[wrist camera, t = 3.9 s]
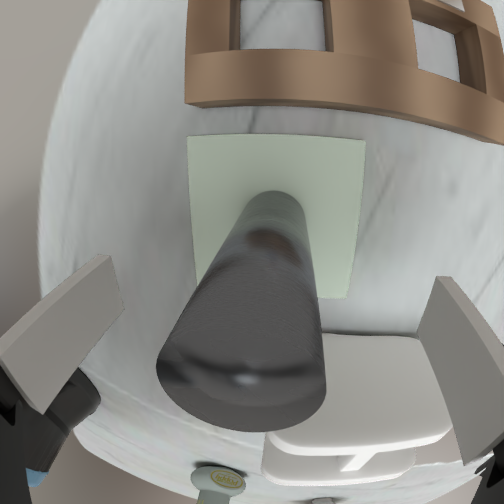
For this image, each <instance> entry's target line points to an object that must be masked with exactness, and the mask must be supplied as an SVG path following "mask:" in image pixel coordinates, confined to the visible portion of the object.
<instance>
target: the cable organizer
mask: <svg viewBox="0 0 504 504" xmlns="http://www.w3.org/2000/svg"><path fill="white" fill-rule="evenodd" d="M322 341H323V351H324V361H325V373H326V390H327V392H326V396H325V400H324V402H323V404H322V405H321V407H320V408H319V410H318V411H317V412H316V413H315V414H314V415H312V416H311V417H310V418H308V419H307V420H305V421H303V422H302V423H300V424H297V425H295V426H292V427H289V428H286V429H282V430H277V431H270V432H266V434H265V441H264V449H263V456H262V463H261V472H262V474H263V475H264V477H265V478H267V479H268V480H269V481H271V482H273V483H276V484H280V485H288V486H332V485H348V484H359V483H368V482H375V481H382V480H388V479H393V478H396V477H398V476H400V475H402V474H403V473H405V472H406V471H407V470H408V469H410V468H411V467H412V466H413V465H414V463H415V461H416V451H415V447H417V446H422V445H427V444H431V443H434V442H436V441H437V440H439V439H441V438H442V437H443V436H444V435H445V434H446V433H447V432H448V431H449V430H450V429H451V428H452V427H453V424H452V421H451V418H450V415H449V412H448V409H447V406H446V403H445V400H444V398H443V395H442V392H441V389H440V387H439V384H438V382H437V379H436V376H435V374H434V371H433V369H432V367H431V364H430V362H429V359H428V357H427V355H426V352H425V350H424V348H423V346H422V343H421V341H419V340H417V339H414V338H411V337H399V336H354V335H337V334H332V333H322Z"/></svg>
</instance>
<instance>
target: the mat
mask: <svg viewBox="0 0 504 504" xmlns="http://www.w3.org/2000/svg"><path fill="white" fill-rule="evenodd" d="M365 146H366V141H362V140H354V139H344V138H334V137H322V136H308V135H287V134H223V135H202V136H187V159H188V181H189V198H190V213H191V226H192V238H193V249H194V260H195V270H196V279H197V286H198V285H199V283H200V281H201V279H202V278H203V276H204V274H205V273H206V271H207V269H208V268H209V266H210V264H211V262H212V261H213V259H214V257H215V256H216V254H217V252H218V251H219V249H220V247H221V246H222V244H223V242H224V241H225V239H226V238H227V236H228V234H229V233H230V231H231V229H232V228H233V226H234V224H235V223H236V221H237V220H238V218H239V216H240V215H241V213H242V211H243V210H244V208H245V207H246V205H247V204H248V202H249V201H250V200H251V199H252V198H253V197H254V196H256V195H257V194H259V193H262V192H265V191H272V190H275V191H281V192H285V193H287V194H289V195H291V196H292V197H294V198H295V199H296V200H297V201H298V202H299V203H300V205H301V206H302V208H303V211H304V214H305V218H306V224H307V230H308V236H309V242H310V248H311V255H312V261H313V268H314V275H315V282H316V290H317V297H318V298H336V299H346V298H347V293H348V288H349V283H350V277H351V272H352V266H353V260H354V254H355V247H356V240H357V233H358V226H359V218H360V209H361V200H362V189H363V178H364V164H365Z"/></svg>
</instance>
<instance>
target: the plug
mask: <svg viewBox="0 0 504 504" xmlns="http://www.w3.org/2000/svg"><path fill="white" fill-rule="evenodd" d="M156 370H157V376H158V379H159V381H160V384H161V386H162V387H163V389H164V390H165V392H166V393H167V394H168V396H169V397H170V398H171V399H172V400H173V401H174V402H175V403H176V404H177V405H178V406H180V407H181V408H182V409H184V410H185V411H186V412H188V413H189V414H191V415H193V416H195V417H196V418H198V419H200V420H203V421H205V422H207V423H210V424H212V425H215V426H219V427H222V428H226V429H230V430H236V431H243V432H270V431H277V430H282V429H286V428H289V427H292V426H295V425H297V424H300V423H302V422H303V421H305V420H307V419H308V418H310V417H311V416H312V415H314V414H315V413H316V412H317V411H318V410H319V408H320V407H321V405H322V404H323V402H324V400H325V396H326V392H327V390H326V373H325V361H324V351H323V341H322V331H321V322H320V313H319V305H318V297H317V290H316V282H315V275H314V268H313V261H312V255H311V248H310V242H309V236H308V230H307V224H306V218H305V214H304V211H303V208H302V206H301V205H300V203H299V202H298V201H297V200H296V199H295V198H294V197H292V196H291V195H289V194H287V193H285V192H281V191H275V190H272V191H265V192H262V193H259V194H257V195H256V196H254V197H253V198H252V199H251V200H250V201H249V202H248V204H247V205H246V207H245V208H244V210H243V211H242V213H241V215H240V216H239V218H238V220H237V221H236V223H235V224H234V226H233V228H232V229H231V231H230V233H229V234H228V236H227V238H226V239H225V241H224V242H223V244H222V246H221V247H220V249H219V251H218V252H217V254H216V256H215V257H214V259H213V261H212V262H211V264H210V266H209V268H208V269H207V271H206V273H205V274H204V276H203V278H202V279H201V281H200V283H199V285H198V286H197V288H196V290H195V291H194V293H193V295H192V297H191V298H190V300H189V302H188V303H187V305H186V307H185V309H184V310H183V312H182V314H181V316H180V317H179V319H178V321H177V323H176V324H175V326H174V328H173V330H172V332H171V333H170V335H169V337H168V339H167V340H166V342H165V344H164V346H163V348H162V349H161V351H160V353H159V356H158V358H157V363H156Z"/></svg>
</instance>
